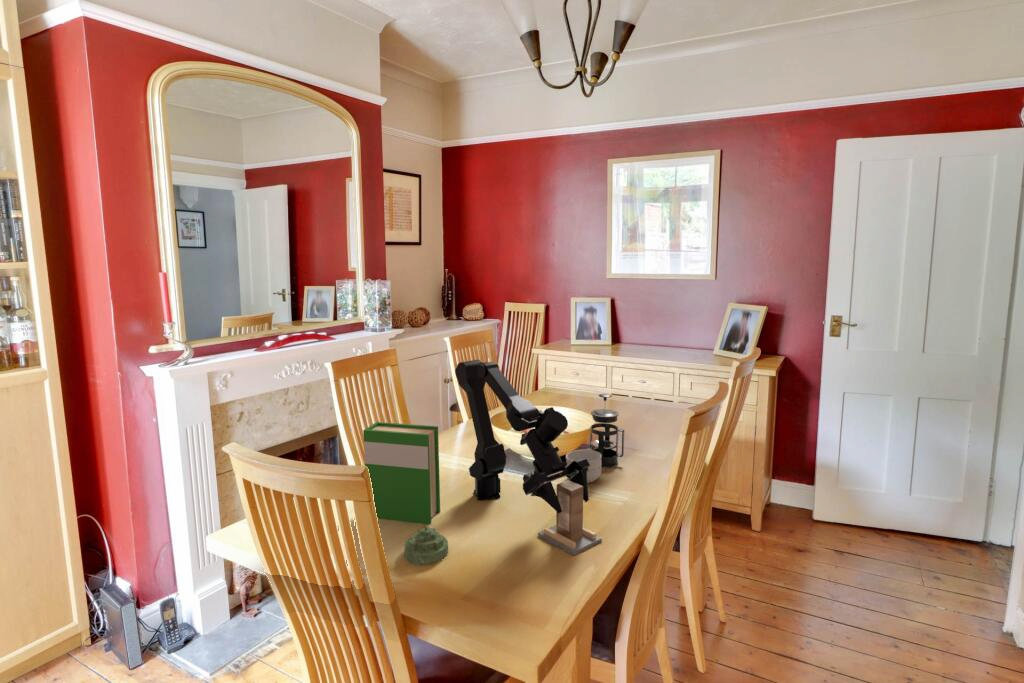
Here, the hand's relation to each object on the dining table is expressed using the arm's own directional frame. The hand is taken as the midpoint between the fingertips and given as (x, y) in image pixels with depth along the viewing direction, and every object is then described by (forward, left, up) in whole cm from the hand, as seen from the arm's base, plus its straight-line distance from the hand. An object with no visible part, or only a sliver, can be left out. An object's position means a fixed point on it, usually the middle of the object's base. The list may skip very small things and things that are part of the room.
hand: (574, 506), depth 141 cm
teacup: (+17, +35, -9) cm, 40 cm away
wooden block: (-1, +1, -8) cm, 8 cm away
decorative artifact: (-35, +4, -9) cm, 37 cm away
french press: (+28, +45, -9) cm, 54 cm away
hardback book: (-39, +25, -9) cm, 47 cm away
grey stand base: (-1, +1, -9) cm, 9 cm away
